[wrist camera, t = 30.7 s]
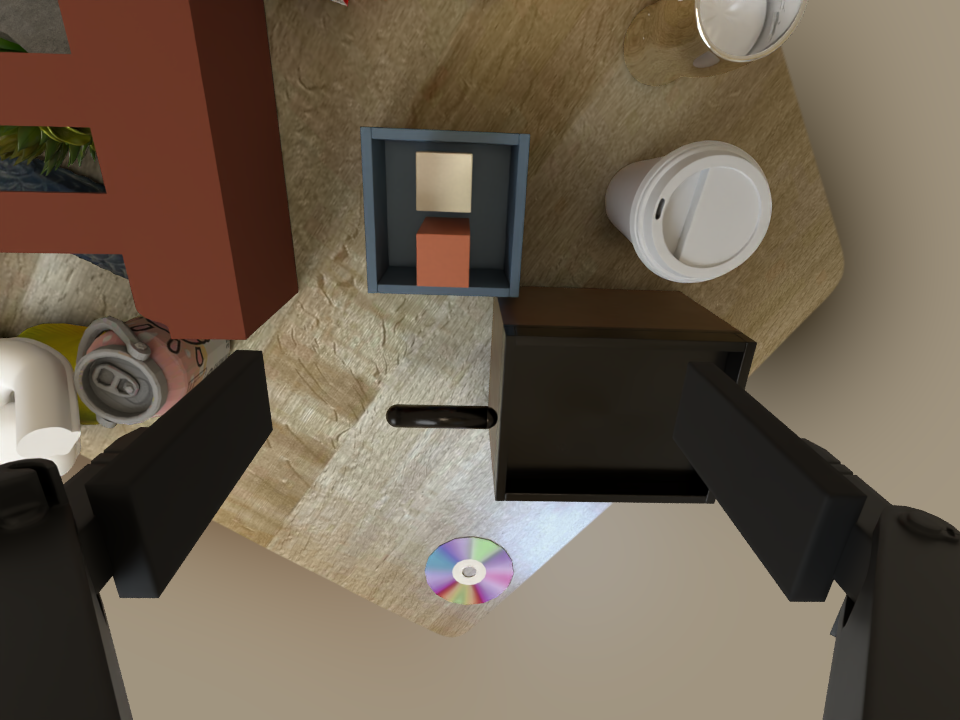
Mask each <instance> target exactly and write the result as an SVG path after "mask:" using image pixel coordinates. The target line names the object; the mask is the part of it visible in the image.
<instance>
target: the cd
mask: <svg viewBox="0 0 960 720" xmlns="http://www.w3.org/2000/svg"><path fill="white" fill-rule="evenodd" d="M466 567H473V568H474V569H475V570H476V574H475V575H474V576H472V577H466V576H464V575H463V574H462V571H463V569H464V568H466ZM425 574H426V579H427V583H428V585H429V586H430V587H431V588H432V590H433V591H434V592H435V593H436V594H437V595H438V596H440V597H442V598H444V599H446V600H447V601H449V602H453V603H458V604H464V605H470V604H479V603H484V602H487V601H489V600H491V599H493V598H496V597H498V596H499V595H500V594H501V593H502V592H503V591H504V590H505V589H506V588H507V587H508V586H509V583H510V581H511V578H512V576H513V568H512V560H511V559H510V558H509V556H508V555H507V553H506V552H505V550H504V549H503V548H501V547H500V546H498V545H496V544H495V543H493V542H491V541H490V540H485V539H480V538H475V537H468V538H459V539H454V540H451V541H449V542H447V543H445V544H443V545H441V546H439V547H438V548H437V549H436V550H435V551H434V552H433V553H432V554H431V555H430V556H429V558H428V561H427V565H426V568H425Z"/></svg>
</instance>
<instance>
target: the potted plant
mask: <svg viewBox="0 0 960 720" xmlns="http://www.w3.org/2000/svg"><path fill="white" fill-rule="evenodd" d="M0 52H18V53H50V54H71V51H70V47H69V43H68V39H67V35H66V31H65V27H64V23H63V19H62V15H61V11H60V8H59V4H58V0H0ZM88 147H90V153H91V156H92V158H93V160H94V162H95V159H96V149H95V145H94V141H93V137H92V133H91V130H90V128H89V127H49V126H9V125H0V157H1V161H3V160H5V159H7V158H9V157H10V159H13V158H16V157H18V159H17V160H16V162H15V163H14V165H13V166H15V165H17V164H19V163H21V162H23V161H25V160H27V159H28V160H27V165H28V164H30V162H31V161H32V160H33V159H34V158H36V157H37V156H39V155H40V154H41V153H42V152H43V151H44V150H45V160H44V163H45V164H44V168H43V170H42V172H41V174H40V175H42V174H43V173H44V172H46V171H47V173H46V176H47V175H48V174H49V173H50V172H51V171H52V169H53V168H54V167H55V165H56V164H57V165H56V168H55V171H56V170H57V169H58V168H59V166H60V165H61V163H62V162H63V160H64V159H65V157H66V155H67V153H68V150H69V162H68V167H69V165H70V164H71V165H72V164H73V163H74V162H75V160H76V159H77V160H78V163H79V167H80V166H81V162H82V160H83V158H84V156H85V154H86V152H87V149H88ZM10 159H9V160H10Z"/></svg>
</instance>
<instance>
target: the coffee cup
mask: <svg viewBox="0 0 960 720" xmlns="http://www.w3.org/2000/svg"><path fill="white" fill-rule="evenodd" d="M605 209H606V213H607V216H608V218H609V220H610V221H611V223H612V224H613V225H614V226H615V227H616V228H617V229H618V230H619V231H620V232H621V233H622V234H623V235H624V236H625V237H626V238H627V239H629V240H630V241H631V242H632V243H633V246H634V249H635V251H636V253H637V255H638V257H639V258H640V260H641V261H642V262H643V263H644V265H645V266H646V267H647V268H648V269H649V270H651V271H652V272H653V273H655V274H656V275H658V276H660V277H662V278H664V279H667V280H670V281H674V282H680V283H697V282H703V281H708V280H711V279H714V278H717V277H719V276H722V275H724V274H726V273H728V272H729V271H731V270H733V269H734V268H736V267H738V266H739V265H740V264H742V263H743V262H744V261H745V260H747V259H748V258H749V257H750V256H751V255H752V254H753V252H754V251H755V250H756V249H757V247H758V246H759V245H760V243H761V241H762V240H763V238H764V236H765V234H766V231H767V229H768V226H769V223H770V219H771V212H772V199H771V193H770V189H769V185H768V182H767V179H766V177H765V174H764V173H763V171H762V169H761V167H760V166H759V164H758V163H757V162H756V161H755V160H754V159H753V158H752V157H751V156H750V155H749V154H748V153H746V152H745V151H743V150H742V149H740V148H739V147H737V146H735V145H732V144H729V143H726V142H722V141H712V140H708V141H699V142H694V143H690V144H687V145H684V146H682V147H680V148H678V149H676V150H674V151H672V152H670V153H669V154H667V155H666V156H663V157H658V158H653V159H648V160H643V161H638V162H634V163H631V164H629V165H627V166H625V167H624V168H622V169H621V170H620V171H618V172H617V173H616V175H615V176H614V177H613V178H612V180H611V181H610V183H609V185H608V188H607V191H606V194H605Z"/></svg>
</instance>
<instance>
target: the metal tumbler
mask: <svg viewBox="0 0 960 720" xmlns="http://www.w3.org/2000/svg"><path fill="white" fill-rule="evenodd" d="M807 3H808V0H660V1H659V2H656V3H653V4H651V5H649V6H647V7H646V8H644V9H643V10H642V11H641V12H639V13H638V14H637V15H636V17H635V18H634V19H633V21H632V22H631V24H630V26H629V28H628V30H627V33H626V36H625V40H624V59H625V63H626V66H627V68H628V70H629V72H630V73H631V75H632V76H633V77H634V78H635V79H636V80H637V81H639V82H641V83H643V84H645V85H648V86H663V85H666V84H669V83H671V82H673V81H675V80H676V79H677V78H679V77H680V76H684V77H696V78H703V77H711V76H716V75H720V74H724V73H727V72H730V71H733V70H735V69H738V68H740V67H742V66H745V65H747V64H749V63H751V62H753V61H755V60H758V59H761V58H763V57H765V56H767V55H769V54H770V53H772V52H774V51H775V50H776V49H778V48H779V47H780V46H781V45H782V44H783V43H784V42H785V41H786V40H787V39H788V38H789V37H790V36H791V35H792V33H793V32H794V30H795V29H796V27H797V26H798V24H799V22H800V20H801V18H802V16H803V14H804V12H805V9H806V6H807Z"/></svg>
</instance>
